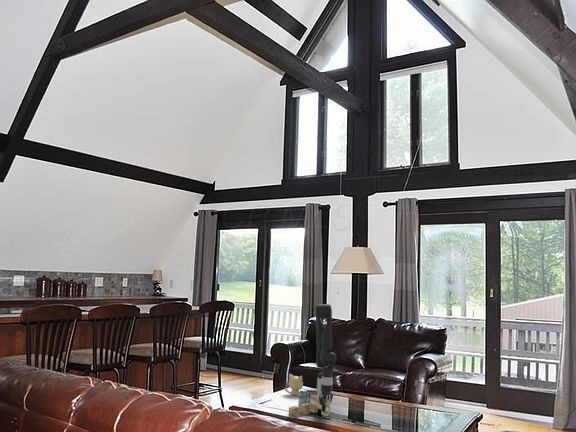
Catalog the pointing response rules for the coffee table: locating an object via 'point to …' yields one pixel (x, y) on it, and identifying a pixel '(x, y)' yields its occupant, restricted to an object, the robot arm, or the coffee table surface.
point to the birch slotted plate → (319, 405)
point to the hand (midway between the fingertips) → (325, 410)
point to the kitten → (295, 385)
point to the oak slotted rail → (299, 410)
